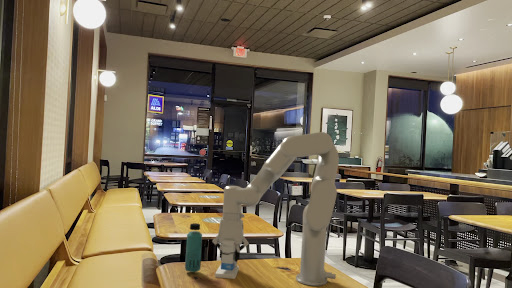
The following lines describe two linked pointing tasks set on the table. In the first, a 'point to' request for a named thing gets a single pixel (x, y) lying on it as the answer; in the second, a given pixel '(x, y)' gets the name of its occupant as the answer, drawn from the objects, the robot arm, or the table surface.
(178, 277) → the table surface
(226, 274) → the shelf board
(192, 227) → the beverage bottle
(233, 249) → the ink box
